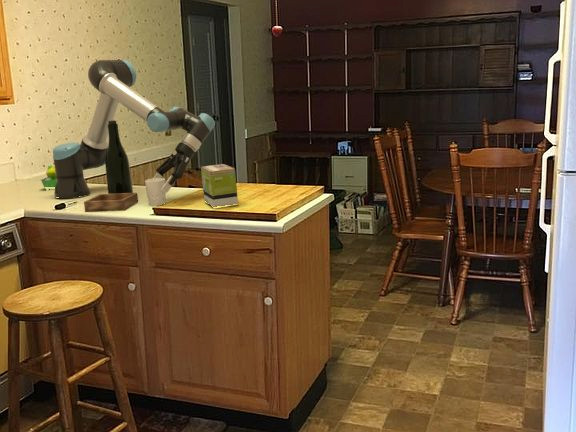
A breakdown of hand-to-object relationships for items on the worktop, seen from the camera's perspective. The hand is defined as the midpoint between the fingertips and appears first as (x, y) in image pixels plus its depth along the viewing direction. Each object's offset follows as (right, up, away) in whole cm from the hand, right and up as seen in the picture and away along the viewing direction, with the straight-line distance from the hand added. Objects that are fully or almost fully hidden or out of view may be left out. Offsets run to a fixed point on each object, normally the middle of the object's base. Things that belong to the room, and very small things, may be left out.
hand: (157, 189), depth 251 cm
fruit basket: (-62, +2, +58) cm, 85 cm away
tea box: (+26, -6, -6) cm, 28 cm away
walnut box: (-18, -7, +2) cm, 20 cm away
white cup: (0, -6, +2) cm, 6 cm away
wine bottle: (-21, -2, +25) cm, 32 cm away
